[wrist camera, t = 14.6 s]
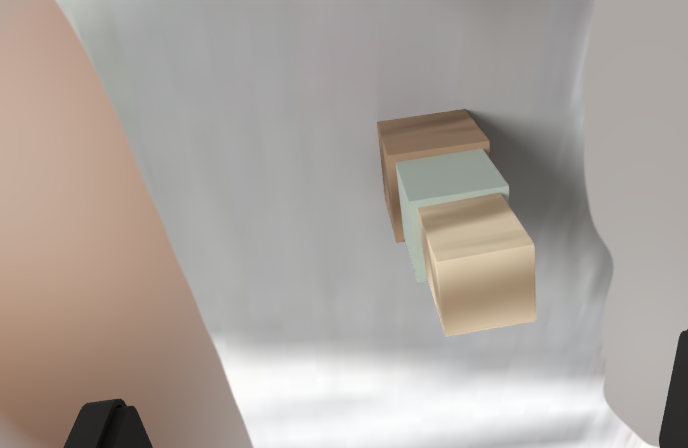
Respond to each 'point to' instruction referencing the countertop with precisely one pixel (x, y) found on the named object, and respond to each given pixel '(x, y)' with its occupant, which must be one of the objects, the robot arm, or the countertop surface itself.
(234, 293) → the countertop surface
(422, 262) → the sage top block
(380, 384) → the countertop surface
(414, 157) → the walnut base block
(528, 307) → the ash block
